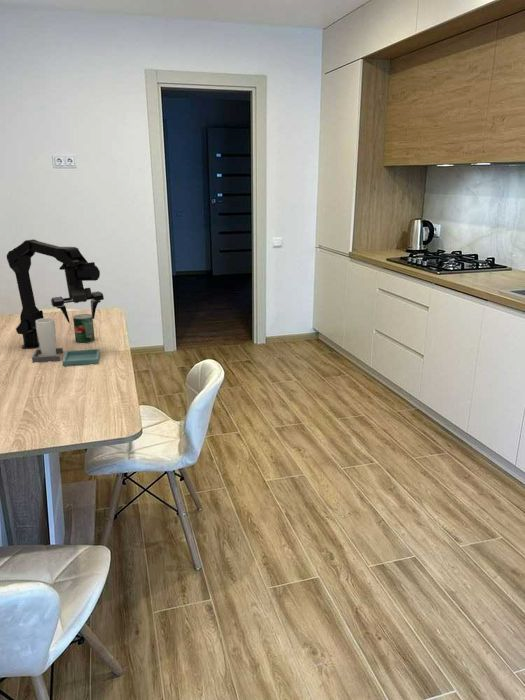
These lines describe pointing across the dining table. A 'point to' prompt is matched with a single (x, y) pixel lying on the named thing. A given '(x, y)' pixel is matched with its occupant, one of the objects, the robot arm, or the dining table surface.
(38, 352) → the dock
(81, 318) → the canned tomato
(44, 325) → the drinking glass
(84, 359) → the tray
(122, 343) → the dining table surface
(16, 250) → the robot arm
